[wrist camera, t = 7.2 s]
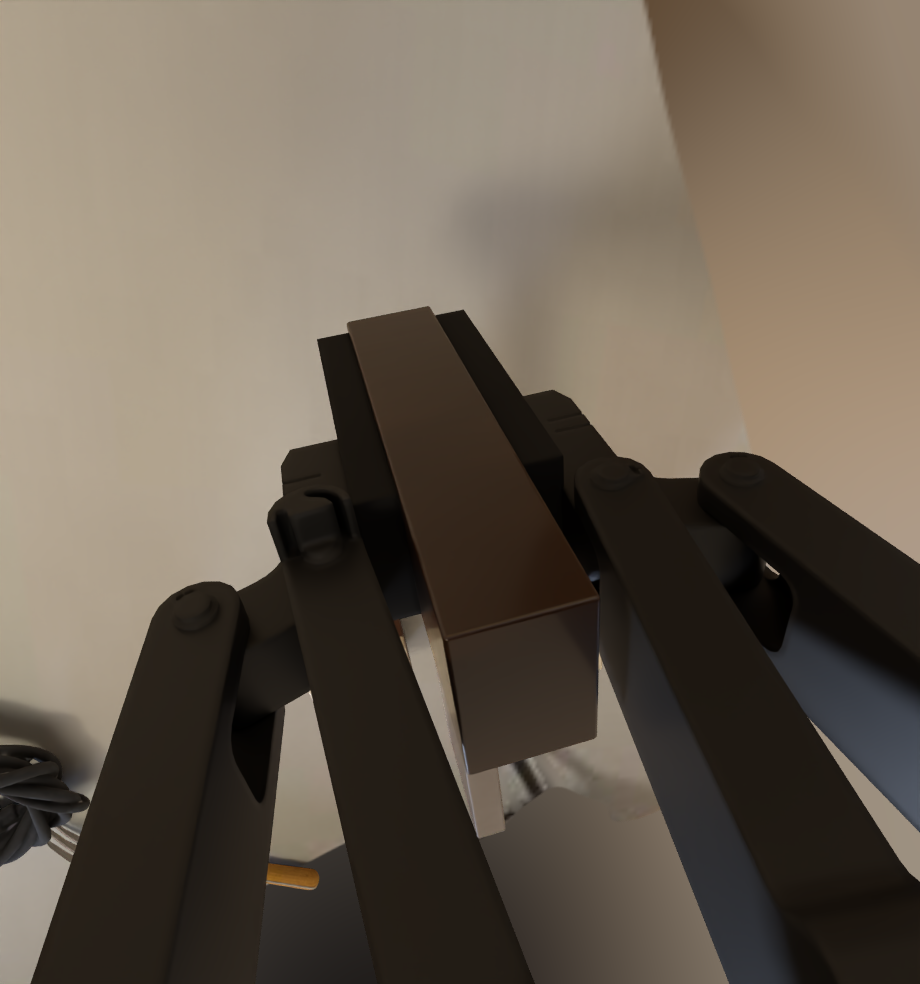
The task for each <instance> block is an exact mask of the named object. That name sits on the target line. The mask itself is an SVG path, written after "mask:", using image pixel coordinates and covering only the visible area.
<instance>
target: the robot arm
mask: <svg viewBox="0 0 920 984" xmlns="http://www.w3.org/2000/svg"><path fill="white" fill-rule="evenodd" d="M435 317H436V318H437V320H438V322H439V323H440V325H441V327H442V328H443V330H444V332H445V334H446V335H447V337H448V339H449V340H450V342H451V344H452V345H453V347H454V349H455V351H456V352H457V354H458V356H459V357H460V359H461V361H462V363H463V364H464V366H465V368H466V369H467V371H468V373H469V374H470V376H471V378H472V380H473V381H474V383H475V385H476V386H477V388H478V390H479V391H480V393H481V395H482V397H483V398H484V400H485V402H486V403H487V405H488V407H489V409H490V410H491V412H492V414H493V415H494V417H495V419H496V420H497V422H498V424H499V426H500V427H501V429H502V431H503V432H504V434H505V436H506V437H507V439H508V441H509V443H510V444H511V446H512V448H513V449H514V451H515V453H516V455H517V456H518V458H519V460H520V461H521V463H522V465H523V466H524V468H525V470H526V472H527V473H528V475H529V477H530V478H531V480H532V482H533V483H534V485H535V487H536V489H537V490H538V492H539V494H540V495H541V497H542V499H543V501H544V502H545V504H546V506H547V507H548V509H549V511H550V512H551V514H552V516H553V518H554V519H555V521H556V523H557V524H558V526H559V528H560V529H561V531H562V533H563V535H564V536H565V538H566V540H567V541H568V543H569V545H570V547H571V548H572V550H573V552H574V553H575V555H576V557H577V558H578V560H579V562H580V564H581V565H582V567H583V569H584V570H585V572H586V574H587V575H588V577H589V579H590V581H591V582H592V584H593V586H594V587H595V589H596V591H597V593H598V594H599V596H600V632H599V654H600V656H601V659H602V661H603V664H604V666H605V669H606V672H607V674H608V677H609V679H610V682H611V684H612V687H613V689H614V692H615V694H616V697H617V700H618V702H619V705H620V707H621V710H622V712H623V715H624V717H625V720H626V722H627V725H628V727H629V730H630V733H631V735H632V738H633V740H634V743H635V745H636V748H637V750H638V753H639V755H640V758H641V761H642V763H643V766H644V768H645V771H646V773H647V776H648V778H649V781H650V783H651V786H652V788H653V791H654V794H655V796H656V799H657V801H658V804H659V806H660V809H661V811H662V814H663V816H664V819H665V821H666V824H667V826H668V829H669V831H670V834H671V837H672V839H673V842H674V844H675V847H676V849H677V852H678V854H679V857H680V860H681V862H682V865H683V867H684V870H685V872H686V875H687V877H688V880H689V882H690V885H691V887H692V890H693V893H694V895H695V898H696V900H697V903H698V905H699V908H700V910H701V913H702V915H703V918H704V921H705V923H706V926H707V928H708V931H709V933H710V936H711V938H712V941H713V943H714V946H715V949H716V951H717V954H718V956H719V959H720V961H721V964H722V966H723V969H724V971H725V974H726V976H727V979H728V981H729V984H920V882H919V881H918V880H917V879H916V878H915V877H913V876H912V875H911V874H910V873H909V872H908V871H907V869H906V868H905V867H904V865H903V864H902V863H901V862H900V860H899V859H898V857H897V855H896V854H895V853H894V851H893V849H892V848H891V846H890V845H889V843H888V841H887V840H886V838H885V837H884V835H883V834H882V832H881V831H880V829H879V827H878V826H877V825H876V823H875V821H874V820H873V818H872V817H871V815H870V813H869V812H868V810H867V809H866V807H865V806H864V804H863V803H862V801H861V799H860V798H859V796H858V795H857V793H856V792H855V790H854V789H853V787H852V785H851V784H850V782H849V781H848V780H847V778H846V776H845V775H844V773H843V771H842V770H841V768H840V767H839V765H838V764H837V762H836V761H835V759H834V757H833V756H832V755H831V753H830V751H829V750H828V748H827V746H826V745H825V743H824V742H823V740H822V739H821V737H820V736H819V734H818V733H817V731H816V729H815V728H814V726H813V725H812V723H811V722H810V720H811V721H812V722H813V723H814V724H815V725H816V726H817V727H818V728H819V729H820V730H821V731H822V732H823V733H824V734H825V735H826V736H827V737H828V738H829V739H830V740H831V741H832V742H833V743H834V744H835V746H836V747H837V748H838V749H839V750H840V751H841V752H842V753H843V754H844V755H845V756H846V757H847V758H848V759H849V760H850V761H851V762H852V763H853V764H854V765H855V766H856V767H857V768H858V769H859V770H860V771H861V772H862V773H863V774H864V775H865V776H866V777H867V778H868V780H869V781H870V782H871V783H872V784H873V785H874V786H875V787H876V788H877V789H878V790H879V791H880V792H881V793H882V794H883V795H884V796H885V797H886V798H887V799H888V800H889V801H890V802H891V803H892V804H893V805H894V806H895V807H896V808H897V809H898V810H899V811H900V813H902V815H903V816H904V817H905V818H906V819H907V820H908V821H909V822H910V823H911V824H912V825H913V826H914V827H915V828H916V829H917V830H918V831H919V832H920V564H919V563H917V562H916V561H914V560H913V559H912V558H910V557H909V556H907V555H906V554H904V553H903V552H901V551H900V550H898V549H897V548H896V547H894V546H893V545H891V544H890V543H888V542H887V541H886V540H884V539H883V538H881V537H880V536H878V535H877V534H876V533H874V532H873V531H871V530H870V529H868V528H867V527H866V526H864V525H863V524H861V523H860V522H858V521H857V520H855V519H854V518H852V517H851V516H850V515H848V514H847V513H845V512H844V511H842V510H841V509H840V508H838V507H837V506H835V505H834V504H832V503H831V502H830V501H828V500H827V499H825V498H824V497H822V496H821V495H819V494H818V493H817V492H815V491H814V490H812V489H811V488H809V487H808V486H806V485H805V484H803V483H802V482H801V481H799V480H798V479H796V478H795V477H793V476H792V475H791V474H789V473H788V472H786V471H785V470H783V469H782V468H781V467H779V466H778V465H776V464H775V463H773V462H771V461H769V460H767V459H765V458H763V457H761V456H758V455H754V454H749V453H745V452H727V453H723V454H718V455H714V456H713V457H711V458H709V459H707V460H705V462H704V463H703V465H702V466H701V468H700V473H699V478H674V479H668V478H655V477H653V476H652V474H651V472H650V471H649V470H648V469H647V468H646V467H645V466H644V465H642V464H641V463H638V462H636V461H634V460H632V459H629V458H623V457H617V456H616V454H615V453H614V452H613V451H612V449H611V448H610V447H609V446H608V444H607V443H606V442H605V441H604V439H603V438H602V437H601V436H600V434H599V433H598V432H597V431H596V429H595V428H594V427H593V426H592V425H590V422H589V421H588V419H587V418H586V417H585V416H584V414H582V412H581V411H580V409H579V408H578V407H577V406H576V404H575V403H574V402H573V401H572V399H570V398H568V397H566V396H564V395H562V394H560V393H558V392H556V391H555V390H549V391H545V392H540V393H536V394H531V395H527V396H522V394H521V393H520V391H519V390H518V388H517V387H516V386H515V384H514V383H513V381H512V380H511V378H510V377H509V375H508V374H507V372H506V371H505V369H504V368H503V366H502V365H501V364H500V362H499V361H498V359H497V358H496V356H495V355H494V353H493V352H492V350H491V349H490V347H489V346H488V345H487V343H486V342H485V340H484V339H483V337H482V336H481V334H480V333H479V331H478V330H477V328H476V327H475V326H474V324H473V323H472V321H471V320H470V318H469V317H468V315H467V314H466V312H465V311H464V310H460V311H455V312H450V313H445V314H440V315H435ZM317 342H318V347H319V352H320V356H321V361H322V366H323V371H324V376H325V381H326V385H327V390H328V395H329V400H330V405H331V410H332V415H333V419H334V424H335V429H336V434H337V440H332V441H328V442H324V443H319V444H315V445H310V446H306V447H301V448H297V449H292V450H290V451H289V453H288V455H287V456H286V458H285V460H284V462H283V463H282V465H281V474H282V483H283V485H282V487H283V497H282V498H280V499H279V500H278V501H276V502H275V504H274V505H273V506H272V508H271V509H270V511H269V512H268V519H267V524H268V527H269V530H270V532H271V535H272V538H273V541H274V544H275V546H276V549H277V552H278V555H279V557H280V560H281V562H280V563H279V564H278V566H277V567H276V568H275V569H274V570H273V571H272V572H270V573H269V574H268V575H267V576H266V577H264V578H262V579H260V580H259V581H257V582H255V583H254V584H252V585H249V586H247V587H245V588H243V589H241V590H239V591H237V592H236V590H235V589H234V588H233V587H232V586H231V585H228V584H225V583H222V582H201V583H198V584H194V585H191V586H187V587H185V588H184V589H182V590H180V591H178V592H176V593H174V594H173V595H171V596H170V597H169V598H168V599H167V600H166V601H165V602H163V603H162V604H161V605H160V606H159V608H158V609H157V611H156V613H155V615H154V616H153V618H152V620H151V623H150V626H149V629H148V632H147V635H146V638H145V641H144V644H143V647H142V650H141V653H140V656H139V659H138V662H137V665H136V668H135V671H134V674H133V677H132V680H131V683H130V686H129V689H128V692H127V695H126V698H125V701H124V704H123V707H122V710H121V713H120V716H119V719H118V722H117V725H116V728H115V731H114V734H113V737H112V740H111V743H110V746H109V749H108V752H107V755H106V758H105V761H104V764H103V767H102V770H101V774H100V777H99V780H98V783H97V786H96V789H95V792H94V795H93V798H92V801H91V804H90V807H89V810H88V813H87V816H86V819H85V822H84V825H83V828H82V831H81V834H80V837H79V840H78V843H77V846H76V849H75V852H74V855H73V858H72V861H71V864H70V867H69V870H68V873H67V876H66V879H65V882H64V885H63V888H62V891H61V894H60V897H59V900H58V903H57V906H56V909H55V912H54V915H53V918H52V921H51V924H50V927H49V930H48V933H47V936H46V939H45V942H44V945H43V948H42V951H41V954H40V957H39V960H38V963H37V966H36V969H35V972H34V975H33V978H32V981H31V984H255V981H256V972H257V963H258V954H259V945H260V936H261V927H262V916H263V908H264V899H265V889H266V881H267V872H268V863H269V853H270V844H271V835H272V826H273V817H274V808H275V799H276V790H277V780H278V771H279V762H280V753H281V744H282V735H283V726H284V716H285V706H284V705H286V704H288V703H290V702H291V701H293V700H295V699H297V698H298V697H300V696H302V695H303V694H305V693H307V692H309V691H310V690H311V695H312V699H313V703H314V708H315V712H316V717H317V721H318V725H319V730H320V734H321V738H322V743H323V747H324V752H325V756H326V760H327V765H328V769H329V773H330V778H331V782H332V787H333V791H334V795H335V800H336V804H337V808H338V813H339V817H340V822H341V826H342V830H343V835H344V839H345V843H346V848H347V852H348V856H349V861H350V865H351V870H352V874H353V878H354V883H355V887H356V891H357V896H358V900H359V904H360V909H361V913H362V918H363V922H364V926H365V931H366V935H367V939H368V944H369V948H370V952H371V956H372V961H373V966H374V970H375V974H376V979H377V983H378V984H535V983H534V980H533V978H532V975H531V973H530V970H529V968H528V965H527V963H526V960H525V958H524V955H523V952H522V950H521V947H520V945H519V942H518V940H517V937H516V935H515V932H514V929H513V927H512V924H511V922H510V919H509V917H508V914H507V911H506V909H505V906H504V904H503V901H502V898H501V896H500V893H499V891H498V888H497V886H496V883H495V880H494V878H493V875H492V873H491V870H490V868H489V865H488V863H487V860H486V857H485V855H484V852H483V850H482V847H481V845H480V842H479V839H478V837H477V834H476V832H475V829H474V827H473V824H472V821H471V819H470V816H469V814H468V811H467V809H466V806H465V803H464V801H463V798H462V796H461V793H460V791H459V788H458V785H457V783H456V780H455V778H454V775H453V773H452V770H451V767H450V765H449V762H448V760H447V757H446V755H445V752H444V749H443V747H442V744H441V742H440V739H439V737H438V734H437V731H436V729H435V726H434V724H433V721H432V719H431V716H430V713H429V711H428V708H427V706H426V703H425V701H424V698H423V695H422V693H421V690H420V688H419V685H418V683H417V680H416V677H415V675H414V672H413V670H412V667H411V665H410V662H409V659H408V657H407V654H406V652H405V649H404V647H403V644H402V641H401V639H400V636H399V634H398V631H397V629H396V626H395V623H394V620H398V619H402V618H406V617H410V616H413V615H417V614H421V608H420V603H419V598H418V593H417V588H416V583H415V578H414V573H413V568H412V563H411V558H410V554H409V549H408V544H407V539H406V534H405V529H404V524H403V519H402V514H401V509H400V504H399V499H398V494H397V491H396V488H395V484H394V481H393V478H392V474H391V471H390V468H389V464H388V461H387V458H386V455H385V451H384V448H383V445H382V441H381V438H380V435H379V431H378V428H377V425H376V421H375V418H374V415H373V412H372V408H371V405H370V402H369V398H368V395H367V392H366V388H365V385H364V382H363V378H362V375H361V372H360V369H359V365H358V362H357V359H356V355H355V352H354V349H353V345H352V342H351V339H350V335H349V333H346V334H341V335H336V336H331V337H326V338H321V339H317ZM766 562H767V563H768V564H769V565H770V566H771V567H773V568H774V569H775V570H776V571H777V572H778V573H780V574H779V575H777V574H776V573H774V572H772V571H771V570H770V569H769V568H768V567H767V566H766ZM809 719H810V720H809Z"/></svg>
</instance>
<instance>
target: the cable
mask: <svg viewBox="0 0 920 984" xmlns="http://www.w3.org/2000/svg"><path fill="white" fill-rule="evenodd" d="M32 759H35V760H37V761H38V762H40V763H37V764H31V763H30V761H31V760H32ZM61 778H62V766H61V763H60V761H59V759H58V758H57V757H56V756H55V755H53V754H52V753H51V752H49V751H47V750H44V749H41V748H37V747H32V746H25V745H0V795H2V796H4V797H6V798H8V799H10V800H12V801H15V802H17V803H20V805H16V804H9V805H8V806H6V807H4V808H3V809H0V866H2V865H3V864H7V863H10V862H13V861H15V860H17V859H18V858H20V857H21V856H22V855H24V854H25V853H26V852H27V851H28V850H29V849H30V848H31V847H36V846H42V845H45V844H47V843H48V842H49V840H50V839H51V835H52V833H51V829H50V828H53V827H57V826H61V825H63V824H66V823H67V822H69V820H70V819H71V818H72V813H76V812H81V811H84V810H86V809H87V808H88V807H89V805H90V800H89V799H88V798H87V797H86V796H84V795H82V794H79V793H75V792H72V791H69V788H68V787H67V786H66V784H65V783H64V782H62V781H61Z"/></svg>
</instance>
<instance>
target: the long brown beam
mask: <svg viewBox="0 0 920 984" xmlns="http://www.w3.org/2000/svg"><path fill="white" fill-rule="evenodd" d="M347 328H348V333H349V335H350V339H351V342H352V345H353V349H354V352H355V355H356V359H357V362H358V365H359V369H360V372H361V375H362V378H363V382H364V385H365V388H366V392H367V395H368V398H369V402H370V405H371V408H372V412H373V415H374V418H375V421H376V425H377V428H378V431H379V435H380V438H381V441H382V445H383V448H384V451H385V455H386V458H387V461H388V464H389V468H390V471H391V474H392V478H393V481H394V484H395V488H396V491H397V494H398V499H399V504H400V509H401V514H402V519H403V524H404V529H405V534H406V539H407V544H408V549H409V554H410V558H411V563H412V568H413V573H414V578H415V583H416V588H417V593H418V598H419V603H420V608H421V614H422V617H423V621H424V624H425V628H426V631H427V635H428V638H429V642H430V645H431V649H432V652H433V656H434V660H435V664H436V669H437V674H438V679H439V684H440V689H441V694H442V699H443V704H444V710H445V715H446V720H447V725H448V730H449V735H450V740H451V743H452V747H453V751H454V754H455V758H456V762H457V765H458V769H459V773H460V776H461V780H462V784H463V787H464V791H465V795H466V798H467V802H468V806H469V809H470V813H471V816H472V820H473V824H474V827H475V831H476V834H477V837H478V838H482V837H485V836H489V835H492V834H495V833H498V832H501V831H504V830H505V820H504V813H503V805H502V797H501V790H500V782H499V774H498V767H500V766H503V765H507V764H510V763H514V762H517V761H520V760H524V759H527V758H531V757H534V756H537V755H541V754H544V753H548V752H551V751H554V750H558V749H561V748H564V747H568V746H571V745H575V744H578V743H581V742H585V741H588V740H592V739H594V738H596V737H597V709H598V670H599V632H600V596H599V594H598V593H597V591H596V589H595V587H594V586H593V584H592V582H591V581H590V579H589V577H588V575H587V574H586V572H585V570H584V569H583V567H582V565H581V564H580V562H579V560H578V558H577V557H576V555H575V553H574V552H573V550H572V548H571V547H570V545H569V543H568V541H567V540H566V538H565V536H564V535H563V533H562V531H561V529H560V528H559V526H558V524H557V523H556V521H555V519H554V518H553V516H552V514H551V512H550V511H549V509H548V507H547V506H546V504H545V502H544V501H543V499H542V497H541V495H540V494H539V492H538V490H537V489H536V487H535V485H534V483H533V482H532V480H531V478H530V477H529V475H528V473H527V472H526V470H525V468H524V466H523V465H522V463H521V461H520V460H519V458H518V456H517V455H516V453H515V451H514V449H513V448H512V446H511V444H510V443H509V441H508V439H507V437H506V436H505V434H504V432H503V431H502V429H501V427H500V426H499V424H498V422H497V420H496V419H495V417H494V415H493V414H492V412H491V410H490V409H489V407H488V405H487V403H486V402H485V400H484V398H483V397H482V395H481V393H480V391H479V390H478V388H477V386H476V385H475V383H474V381H473V380H472V378H471V376H470V374H469V373H468V371H467V369H466V368H465V366H464V364H463V363H462V361H461V359H460V357H459V356H458V354H457V352H456V351H455V349H454V347H453V345H452V344H451V342H450V340H449V339H448V337H447V335H446V334H445V332H444V330H443V328H442V327H441V325H440V323H439V322H438V320H437V318H436V317H435V315H434V313H433V311H432V310H431V308H430V307H429V306H427V307H422V308H417V309H411V310H406V311H401V312H396V313H391V314H386V315H381V316H376V317H371V318H366V319H361V320H356V321H351V322H348V323H347Z"/></svg>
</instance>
